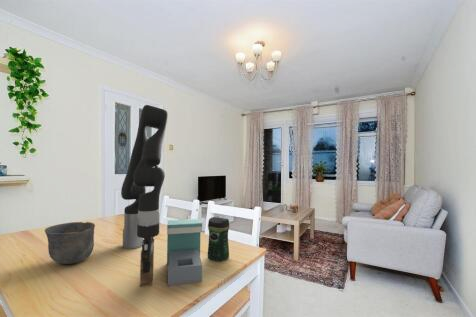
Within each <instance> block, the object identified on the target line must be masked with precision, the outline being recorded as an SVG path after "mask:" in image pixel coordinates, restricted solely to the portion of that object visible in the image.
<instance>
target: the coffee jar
mask: <svg viewBox="0 0 476 317" xmlns="http://www.w3.org/2000/svg"><path fill="white" fill-rule="evenodd" d="M207 228H208V229H207V230H208V245H207V258H208V259H209V260H211V261H213V262H219V263H221V262H225V261H227V260H229V258H230V248H229V229H230V219H228V218H224V217H219V216H213V217H210V218H208V223H207Z"/></svg>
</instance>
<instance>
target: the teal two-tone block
mask: <svg viewBox="0 0 476 317" xmlns="http://www.w3.org/2000/svg"><path fill="white" fill-rule="evenodd" d="M166 226H167V227H166V231H167V232H166V235H167V238H166V239H167V242H166V243H167V244H166V246H167V248H166V265H167V266H169V252H170V251H179V250H191V249H198V250H199V254H200V255H201V233H202V232H203V222H202V220H201V218H187V219H170V220H167V224H166Z"/></svg>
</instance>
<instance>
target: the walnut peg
mask: <svg viewBox="0 0 476 317" xmlns="http://www.w3.org/2000/svg"><path fill="white" fill-rule="evenodd" d="M154 249H155V246H154V247H153V250H152V255H151V257H150V259H151V261H150V272H149V273H143V263H142V262H141V260H142V249H141V251H140V260H139V261H140V266H139V268H140V269H139V271H140V272H139V287H141V288H142V287H149V286H150V287H151V286H153V282H154V256H155V255H154V253H155V252H154V251H155V250H154ZM145 258H148V255H145Z"/></svg>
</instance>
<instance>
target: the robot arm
mask: <svg viewBox="0 0 476 317" xmlns="http://www.w3.org/2000/svg"><path fill="white" fill-rule="evenodd" d="M168 120H169V113H168V111H167V110H165V109H164V108H163V109H162V108H159V107H156V106H153V105H149V104H145V105H144V106H143V107H142V109H141V112H140V116H139V122H138V123H139V124H138V126H137V127H138V128H137V133H136V138H135V140H134V145H133V148H132V152H131V153H130V154H131V155H130V159H129V164H128V167H127V168H128V169H127V171H126V174H125V177H124V180H123V182H122V186H121V190H120V196H121V198H122V199H123V200H125V201H131V200H134V201H133V203H131V204H129V205H127V206H125V207H124V214H123V215H124V216H123V217H124V218H123V220H124V222H123V229H122V249H137V248H141V250H142V260H141V259H140V261H141V262H142V263H143V273H149V272H150V261H151V259H150V257H151V255H152V250H153V247H154V248H155V237H157V236H159V235H160V219H161V218H160V195H161V190H162V186H163V183H164V181H165V176H166V175H165V171H164V169H163V168H162V167H158V166H159V165H160V164H161V159H162V150H163V149H162V148H163V142H164V139H165V134H166V130H167V124H168ZM147 127H148V128H152V129H156V132H154V133H153V135H151V136H149V137H148V134H147ZM146 187H153V189H152V190H151V191H149V192H147V191H146ZM145 255H148V258H145Z"/></svg>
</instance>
